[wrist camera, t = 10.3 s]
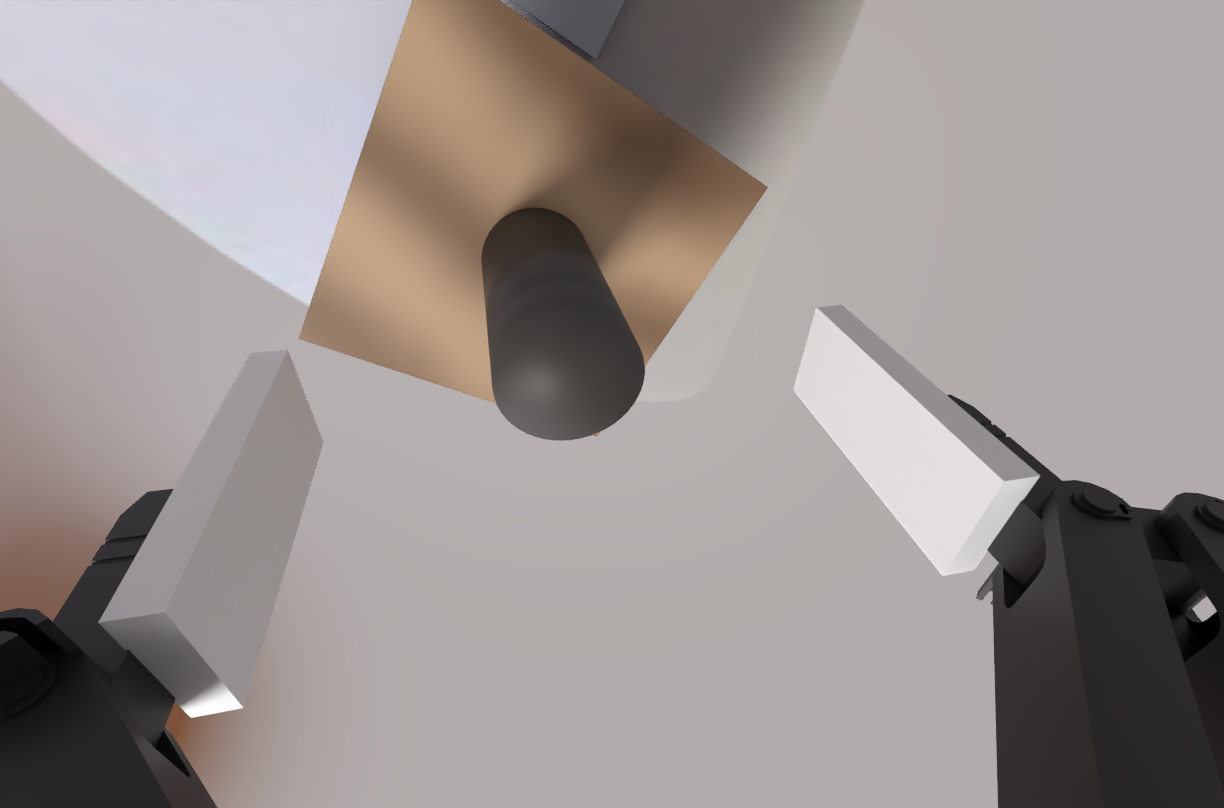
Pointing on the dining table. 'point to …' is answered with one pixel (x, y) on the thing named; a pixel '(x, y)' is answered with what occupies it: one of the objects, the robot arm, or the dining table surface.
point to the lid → (520, 224)
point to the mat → (577, 19)
